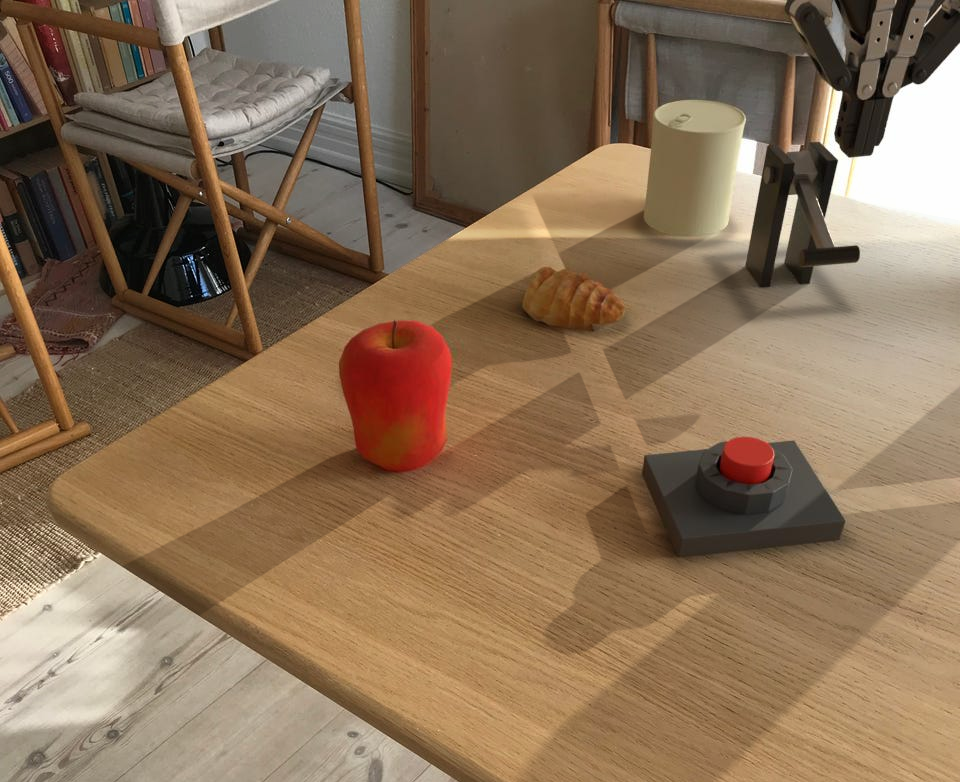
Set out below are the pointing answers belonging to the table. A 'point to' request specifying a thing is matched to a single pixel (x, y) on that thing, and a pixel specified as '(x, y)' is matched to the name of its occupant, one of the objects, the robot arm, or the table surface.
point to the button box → (739, 502)
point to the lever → (816, 217)
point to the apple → (397, 393)
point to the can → (693, 167)
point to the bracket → (773, 211)
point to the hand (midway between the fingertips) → (855, 152)
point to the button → (746, 460)
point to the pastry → (570, 300)
